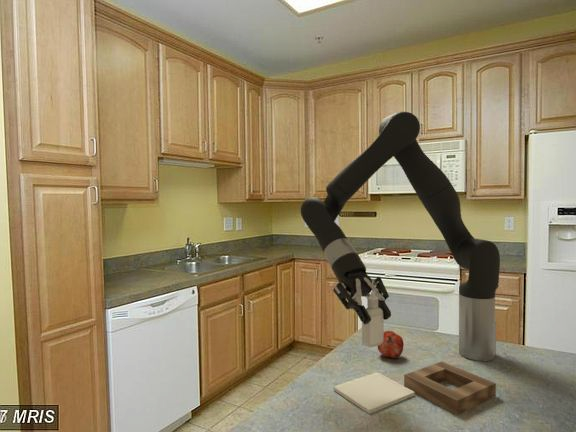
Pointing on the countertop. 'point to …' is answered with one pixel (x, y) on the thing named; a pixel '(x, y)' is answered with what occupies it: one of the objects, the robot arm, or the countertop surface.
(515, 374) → the countertop surface
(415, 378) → the walnut socket stand
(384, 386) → the off-white tile
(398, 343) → the pomegranate
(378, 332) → the eye dropper bottle
